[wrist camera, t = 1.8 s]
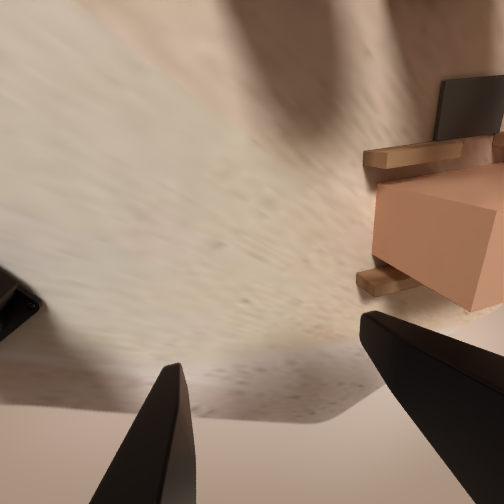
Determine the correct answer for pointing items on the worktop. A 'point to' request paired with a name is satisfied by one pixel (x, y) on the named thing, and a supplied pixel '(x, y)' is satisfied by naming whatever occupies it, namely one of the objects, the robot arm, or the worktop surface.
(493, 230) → the brick
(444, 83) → the lane
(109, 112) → the worktop surface
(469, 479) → the robot arm
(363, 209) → the worktop surface
